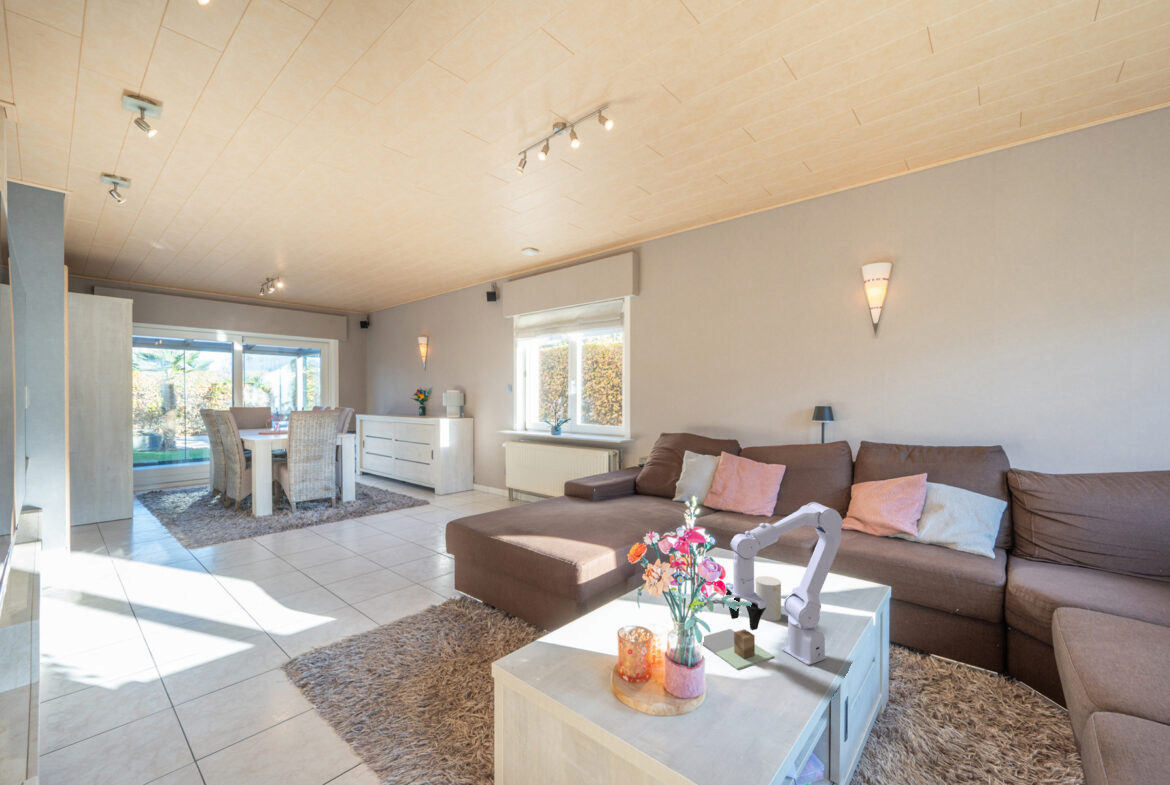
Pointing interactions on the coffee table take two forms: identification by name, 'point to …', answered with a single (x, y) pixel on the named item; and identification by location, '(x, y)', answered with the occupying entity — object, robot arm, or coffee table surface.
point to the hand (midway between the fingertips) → (744, 623)
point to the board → (732, 649)
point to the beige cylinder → (770, 597)
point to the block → (744, 644)
